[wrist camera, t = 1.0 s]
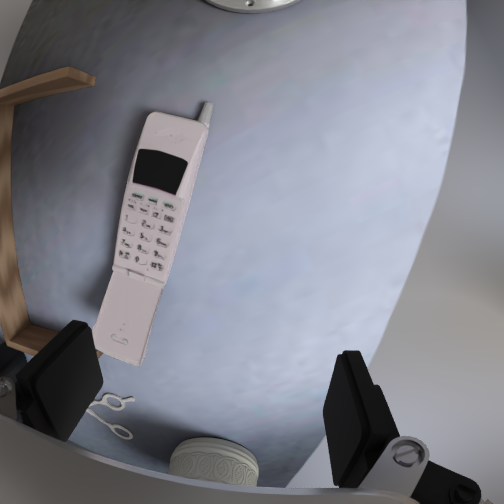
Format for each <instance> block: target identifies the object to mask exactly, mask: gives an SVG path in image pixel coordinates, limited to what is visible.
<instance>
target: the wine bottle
mask: <svg viewBox="0 0 504 504" xmlns="http://www.w3.org/2000/svg"><path fill="white" fill-rule="evenodd" d="M26 364H27V361H26V357H25V355H24V353H23V352H22V351H19V350H17V349H14V348H12V347H9V346H7V344H6V343H2V344H1V345H0V377H8V378H10V379H12V380H13V381H14V383H15V382H16V381H17V379H16V376H15V375H16V374H17V373H18V372H19V371H20V370H21V369H22V368H23V367H24V366H25V365H26Z"/></svg>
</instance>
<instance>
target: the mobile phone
mask: <svg viewBox="0 0 504 504" xmlns="http://www.w3.org/2000/svg"><path fill="white" fill-rule="evenodd" d="M213 106H214V104H212V103H209V102H205V104H204V107H203V109H202V111H201V114H200V116H199V118H198V120H197V121H195V120H191V119H187V118H183V117H179V116H175V115H171V114H166V113H162V112H153V113H151V114H150V115H149V116H148V117H147V120H146V122H145V125H144V127H143V130H142V133H141V136H140V139H139V142H138V145H137V148H136V151H135V154H134V157H133V161H132V165H131V168H130V172H129V176H128V180H127V186H126V190H125V194H124V199H123V204H122V209H121V215H120V221H119V227H118V234H117V241H116V248H115V256H114V265H113V266H112V270H113V274H112V276H111V279H110V282H109V285H108V288H107V291H106V294H105V297H104V300H103V303H102V306H101V309H100V312H99V316H98V319H97V322H96V325H94V327H93V330H92V335H93V340H94V344H95V349H97V350H99V351H101V352H103V353H105V354H107V355H109V356H111V357H113V358H116V359H118V360H121V361H123V362H126V363H129V364H132V365H135V366H139V367H140V366H141V363H142V360H143V359H144V358H145V355H146V352H147V343H148V340H149V336H150V332H151V329H152V325H153V322H154V318H155V314H156V311H157V308H158V304H159V301H160V297H161V294H162V291H163V287H164V286H165V285H166V284H167V281H168V277H169V273H170V269H171V266H172V264H173V260H174V257H175V253H176V250H177V246H178V243H179V239H180V236H181V232H182V228H183V225H184V221H185V217H186V214H187V210H188V207H189V203H190V200H191V196H192V192H193V188H194V185H195V181H196V177H197V173H198V169H199V166H200V162H201V159H202V155H203V152H204V146H205V143H206V139H207V136H208V132H209V130H208V128H209V123H210V118H211V114H212V110H213Z"/></svg>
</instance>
